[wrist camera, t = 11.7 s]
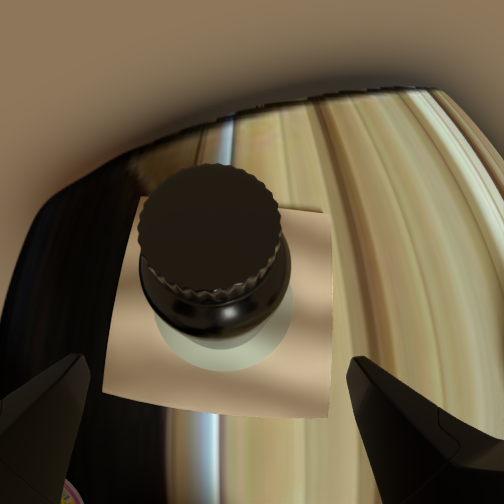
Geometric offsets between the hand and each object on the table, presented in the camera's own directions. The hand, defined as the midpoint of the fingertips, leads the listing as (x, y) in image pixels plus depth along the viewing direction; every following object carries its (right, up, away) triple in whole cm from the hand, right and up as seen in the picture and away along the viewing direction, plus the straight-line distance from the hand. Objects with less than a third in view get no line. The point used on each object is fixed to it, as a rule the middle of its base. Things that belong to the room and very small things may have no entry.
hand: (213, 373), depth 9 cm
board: (-1, 0, +13) cm, 13 cm away
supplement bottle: (-1, 0, +12) cm, 12 cm away
